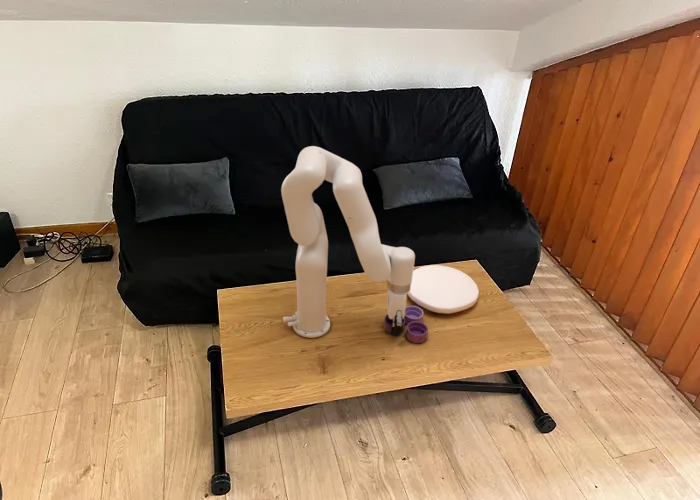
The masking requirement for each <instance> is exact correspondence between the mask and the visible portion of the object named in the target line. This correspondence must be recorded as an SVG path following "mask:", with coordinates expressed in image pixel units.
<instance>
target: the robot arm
mask: <svg viewBox="0 0 700 500" xmlns="http://www.w3.org/2000/svg"><path fill="white" fill-rule="evenodd" d="M362 174H363V173H362V172H361V169H360V168H359V167H358V166H357V165H355V164H354V163H353V162H351V161H349V160H347V159H345V158H342V157H341V156H339V155H337V154H334V153H333V152H330V151H328V150H326V149H325V148H322V147H320V146H316V145H311V146H307V147H304V148H303V149H302V150H301V151H300V152H299V154H298V156H297V160H296V164H295V167H294V168H293V170H291V172H290V173H289V174H288V175H286V177H285V178H284V179H283V181H282V184H281V188H280V192H281V198H282V203H283V207H284V213H285V216H286V220H287V225H288V230H289V234H290V236H291V238H292V239H293V241H294V242H295V243H297V244H298V245H297V249H296V256H295V265H294V266H295V278H296V279H295V280H296V311H294V314H292V315H291V316H288V315H287V316H282V322H283V323H287V327H292V330H293V331H294V332H295V333H296V335H299V336H301V337H304V338H309V339H310V338H311V339H313V338H319V337H322V336H324V335H326V334H327V333H328V332H329V331H330V328H331V320H330V318H329V317H328V316H327V287H328V286H327V284H328V281H327V280H328V262H329V261H328V258H329V239H328V234H327V229H326V224H325V220H324V219H325V218H324V215H323V212H322V209H321V207H320V206H319V205H318V204H317V203H315V201H314V197H313V193H314V191H316V190H317V189H318V188H319V187H320V186H322V184H323V182H324V181H327V182H329V183H331V184H332V192H333V195H334V198H335V201H336V202H337V205H338V207H339V209H340V211H341V214H342V216H343V218H344V220H345V223H346V225H347V227H348V231H349V234H350V238H351V240H352V243H353V245H354V248H355V251H356V254H357V257H358V260H359V263H360V265H361V267H362V269H363V271H364V273H365V276H366V278H367V279H369V280H370V281H371V282H372V283H377V284H380V283H381V284H382V283H384V282H386V281H387V284H386V288H387V297H386V308H387V314H388V316H389V318H390V319H393V324H392V325H391V333H390V335H393V336H399V335H400V336H401V333H402V332H401V326H402V325H401V322H402V319H403V318H404V315H405V309H406V307H407V298H408V297H407V296H408V294H407V293H408V292H410V290H411V283H412V276H413V271H414V270H415V269H414V267H415V260H416V254H415V252H414V250H412V249H411V248H409V247H406V246H397V247H396V246H392V245H391V246H390V245H388V244H387V245H386V244H383V243H381V238H380V233H379V226H378V222H377V218H376V214H375V212H374V210H373V207H372V205H371V203H370V200H369V197H368V194H367V192H366V190H365V187H364V184H363V175H362ZM396 315H397V317H395V316H396ZM395 319H397V322H396V323H395Z"/></svg>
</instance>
